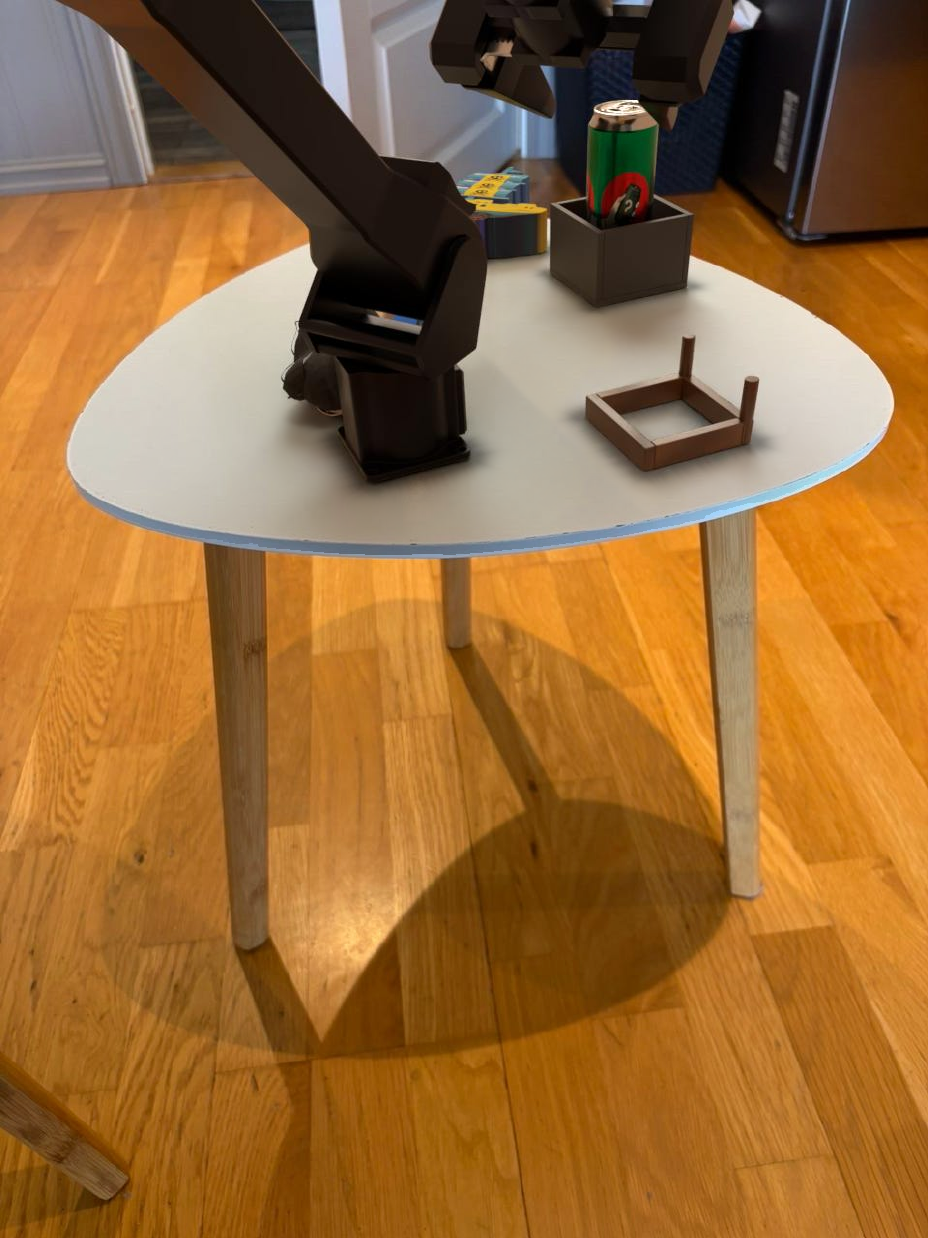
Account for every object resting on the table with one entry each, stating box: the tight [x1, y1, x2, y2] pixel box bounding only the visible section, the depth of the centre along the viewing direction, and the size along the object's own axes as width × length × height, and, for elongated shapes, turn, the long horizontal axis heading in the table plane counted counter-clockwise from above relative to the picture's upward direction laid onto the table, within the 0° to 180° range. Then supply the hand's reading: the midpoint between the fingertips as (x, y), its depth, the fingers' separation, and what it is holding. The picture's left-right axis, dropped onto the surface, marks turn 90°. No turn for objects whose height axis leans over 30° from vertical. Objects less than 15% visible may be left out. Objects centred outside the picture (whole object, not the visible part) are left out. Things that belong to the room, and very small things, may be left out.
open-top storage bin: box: [549, 193, 695, 308], centre depth 74 cm, size 8×8×6 cm
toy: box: [455, 166, 548, 260], centre depth 85 cm, size 16×3×15 cm
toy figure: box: [280, 309, 394, 417], centre depth 63 cm, size 7×6×15 cm
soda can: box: [585, 99, 660, 231], centre depth 71 cm, size 5×5×12 cm
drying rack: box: [584, 333, 760, 472], centre depth 56 cm, size 7×7×4 cm
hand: (610, 117), depth 66 cm, fingers open, 9 cm apart
